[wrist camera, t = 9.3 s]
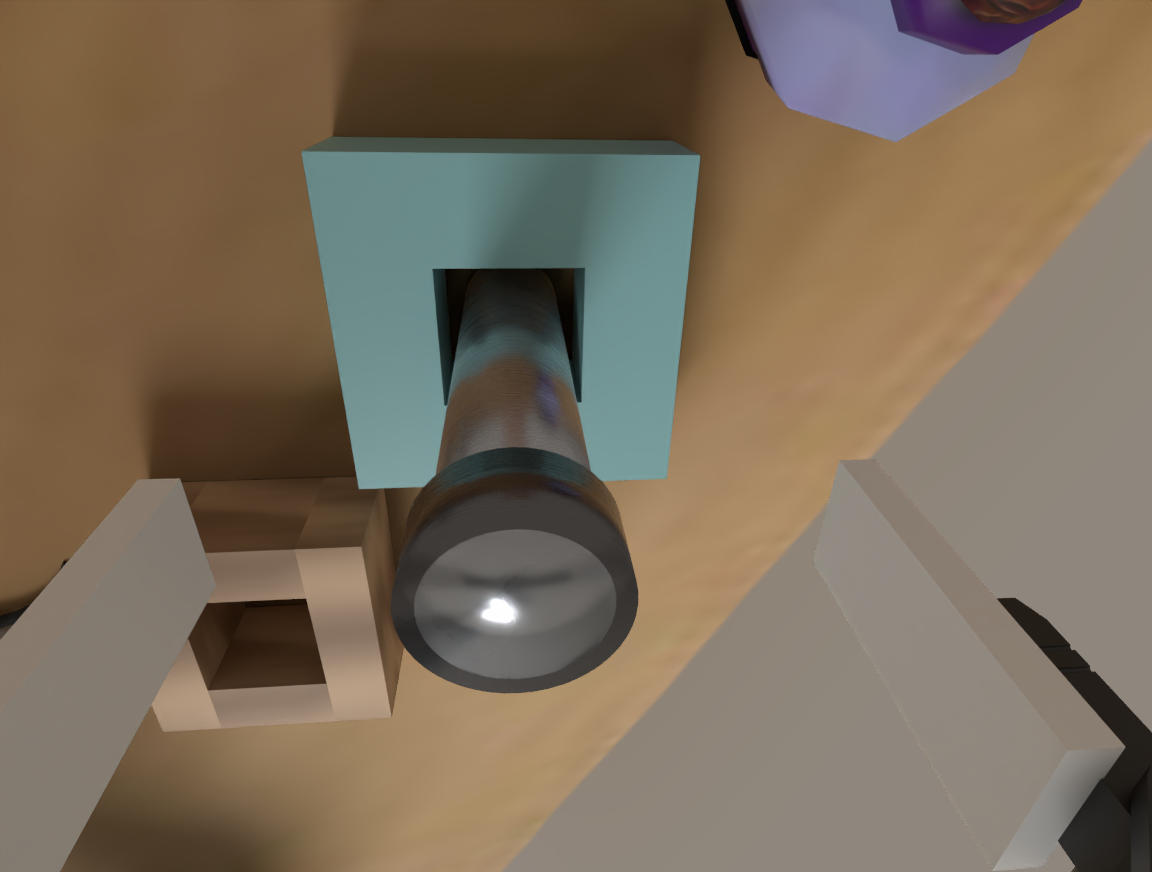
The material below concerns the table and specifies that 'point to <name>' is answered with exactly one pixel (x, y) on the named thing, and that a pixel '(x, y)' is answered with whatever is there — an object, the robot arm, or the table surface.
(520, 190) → the socket block
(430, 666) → the metal flashlight
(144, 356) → the table surface
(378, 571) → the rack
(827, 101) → the potion bottle
